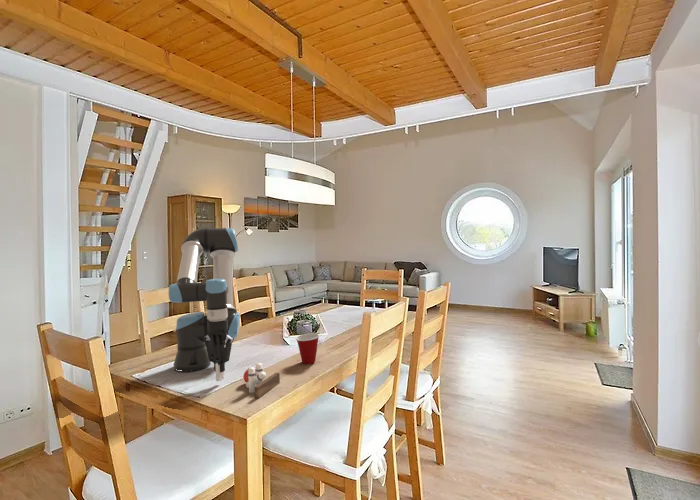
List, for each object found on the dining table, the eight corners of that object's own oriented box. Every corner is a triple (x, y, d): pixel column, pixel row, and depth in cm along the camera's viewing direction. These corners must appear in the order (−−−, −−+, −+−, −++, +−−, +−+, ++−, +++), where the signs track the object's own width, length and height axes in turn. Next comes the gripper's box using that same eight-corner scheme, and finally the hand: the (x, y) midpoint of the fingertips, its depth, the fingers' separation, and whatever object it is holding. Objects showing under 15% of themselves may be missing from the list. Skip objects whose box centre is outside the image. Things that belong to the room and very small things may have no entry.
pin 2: (255, 387, 147) (254, 364, 147) (258, 384, 150) (257, 362, 149) (260, 388, 147) (260, 365, 146) (264, 385, 149) (263, 363, 149)
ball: (258, 386, 148) (241, 384, 147) (258, 383, 154) (242, 382, 153) (260, 369, 149) (244, 368, 148) (260, 367, 155) (245, 366, 154)
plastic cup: (296, 359, 180) (295, 333, 180) (320, 357, 181) (319, 332, 181) (295, 366, 169) (294, 339, 169) (320, 365, 170) (319, 338, 170)
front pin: (244, 383, 146) (260, 372, 144) (248, 381, 148) (264, 370, 146) (247, 389, 146) (264, 378, 143) (251, 386, 148) (267, 376, 146)
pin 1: (247, 392, 143) (246, 369, 142) (251, 389, 145) (250, 367, 145) (253, 393, 142) (252, 369, 142) (257, 390, 144) (256, 367, 144)
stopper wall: (254, 398, 137) (254, 387, 137) (276, 382, 152) (275, 372, 151) (258, 398, 137) (258, 387, 137) (279, 383, 151) (279, 372, 151)
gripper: (196, 320, 149) (199, 381, 150) (225, 322, 144) (228, 385, 145) (209, 316, 156) (212, 374, 157) (237, 318, 151) (240, 377, 152)
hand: (219, 379), depth 151 cm, fingers closed
